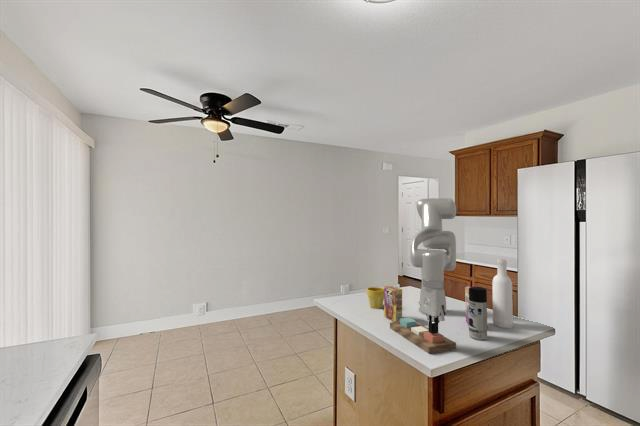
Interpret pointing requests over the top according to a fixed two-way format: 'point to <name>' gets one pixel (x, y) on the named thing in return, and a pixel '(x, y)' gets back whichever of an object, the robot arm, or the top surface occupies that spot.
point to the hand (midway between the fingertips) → (433, 332)
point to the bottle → (502, 297)
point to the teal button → (408, 322)
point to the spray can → (478, 313)
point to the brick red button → (433, 337)
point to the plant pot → (375, 296)
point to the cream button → (419, 330)
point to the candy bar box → (467, 303)
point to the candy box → (393, 303)
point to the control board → (421, 341)
